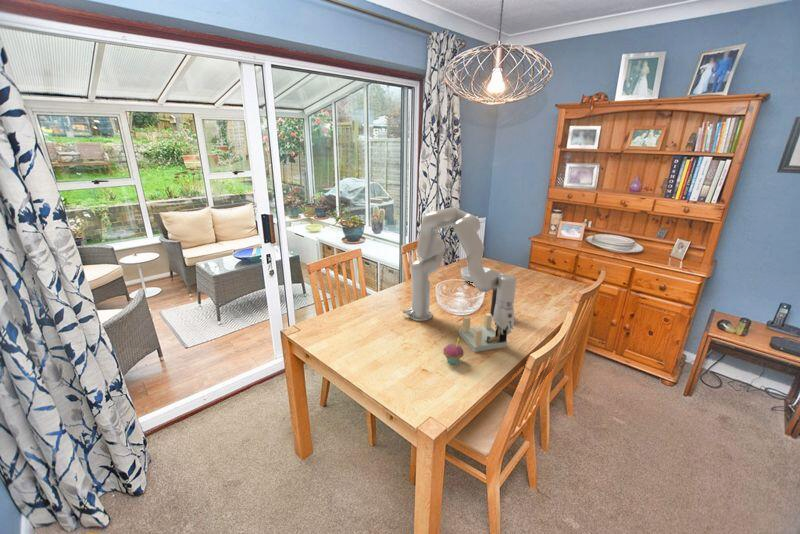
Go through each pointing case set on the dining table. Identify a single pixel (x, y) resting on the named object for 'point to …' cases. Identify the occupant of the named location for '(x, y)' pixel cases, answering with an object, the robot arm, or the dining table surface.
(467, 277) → the serving bowl
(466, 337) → the stool seat
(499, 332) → the folding leg
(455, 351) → the cupcake
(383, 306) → the dining table surface
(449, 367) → the dining table surface
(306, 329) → the dining table surface
